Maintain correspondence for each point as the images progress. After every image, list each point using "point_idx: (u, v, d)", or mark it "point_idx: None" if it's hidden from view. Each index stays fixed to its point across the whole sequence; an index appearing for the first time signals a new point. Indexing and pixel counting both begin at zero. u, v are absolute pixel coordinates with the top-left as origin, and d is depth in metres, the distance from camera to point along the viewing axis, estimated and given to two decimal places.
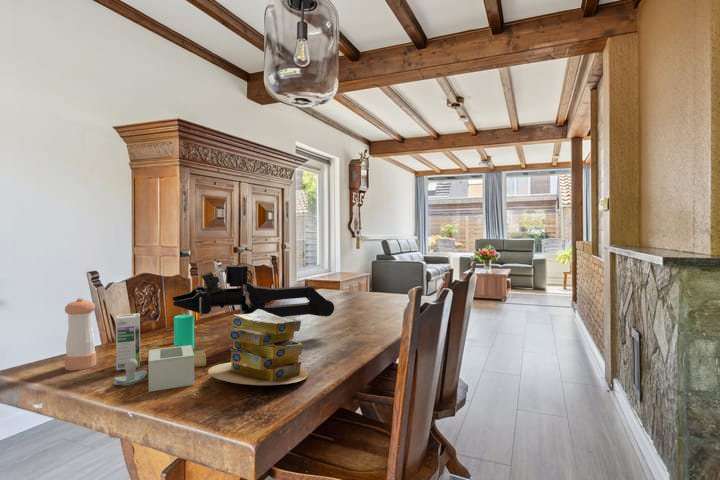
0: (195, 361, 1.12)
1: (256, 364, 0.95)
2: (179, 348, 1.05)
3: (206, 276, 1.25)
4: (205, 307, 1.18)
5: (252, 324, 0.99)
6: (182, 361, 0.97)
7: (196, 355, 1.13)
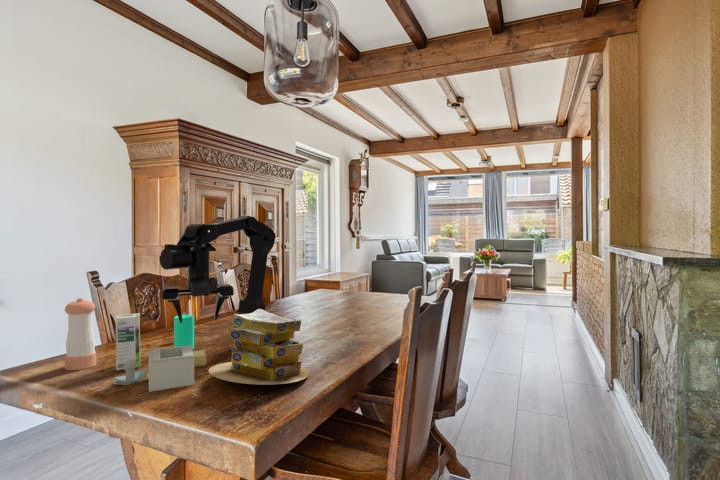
0: (195, 361, 1.12)
1: (256, 364, 0.95)
2: (179, 348, 1.05)
3: (209, 291, 1.09)
4: None
5: (253, 324, 1.00)
6: (182, 361, 0.97)
7: (196, 355, 1.13)
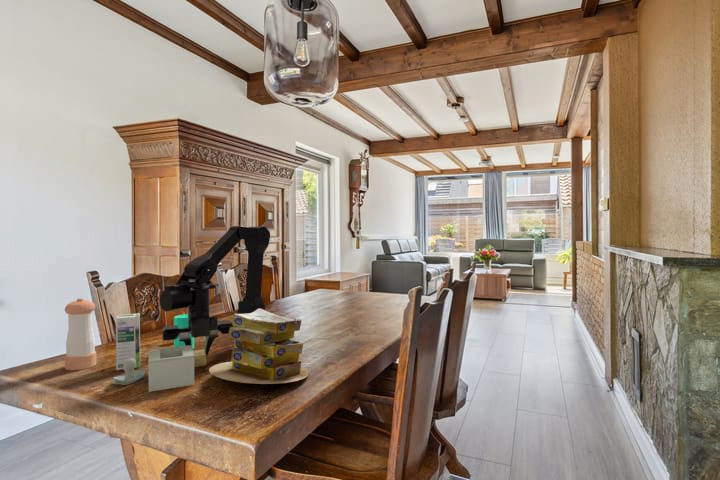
0: (195, 360, 1.12)
1: (256, 363, 0.95)
2: (179, 348, 1.05)
3: (209, 331, 1.09)
4: None
5: (253, 324, 1.00)
6: (182, 361, 0.97)
7: (196, 354, 1.13)
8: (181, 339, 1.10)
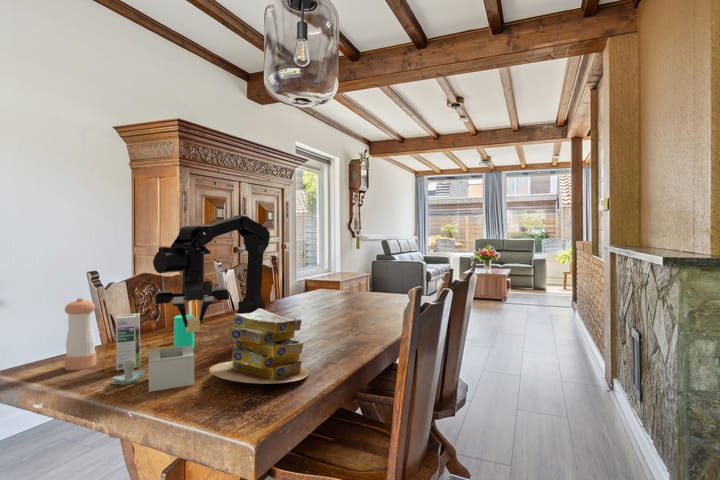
0: (189, 326, 1.09)
1: (256, 363, 0.96)
2: (179, 348, 1.05)
3: (203, 295, 1.06)
4: None
5: (253, 323, 1.00)
6: (182, 361, 0.97)
7: (190, 320, 1.10)
8: (174, 303, 1.07)
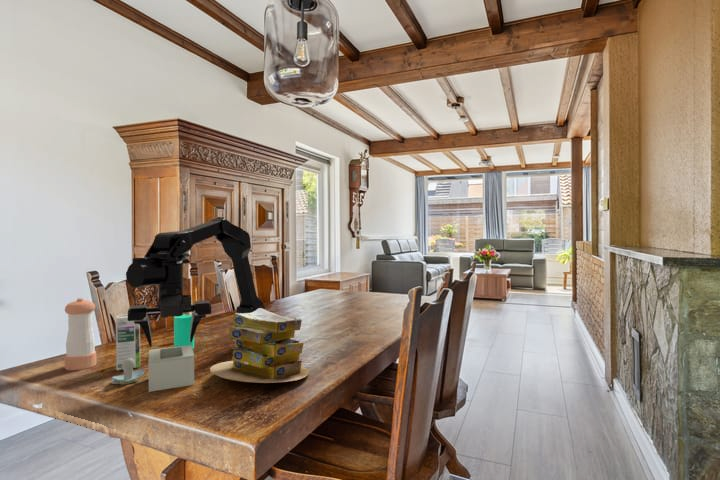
0: None
1: (257, 363, 0.96)
2: (179, 348, 1.05)
3: (182, 311, 0.95)
4: None
5: (254, 323, 1.01)
6: (182, 361, 0.97)
7: None
8: (136, 321, 0.95)
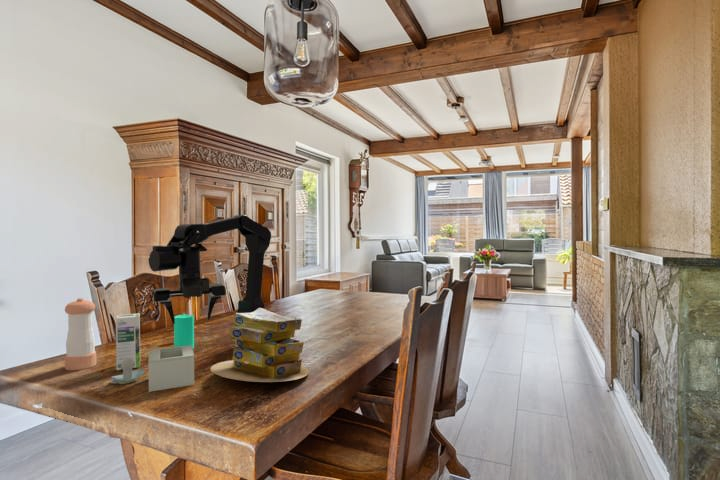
0: None
1: (257, 362, 0.96)
2: (179, 348, 1.05)
3: (201, 292, 1.09)
4: None
5: (254, 323, 1.01)
6: (182, 361, 0.97)
7: None
8: (161, 302, 1.09)
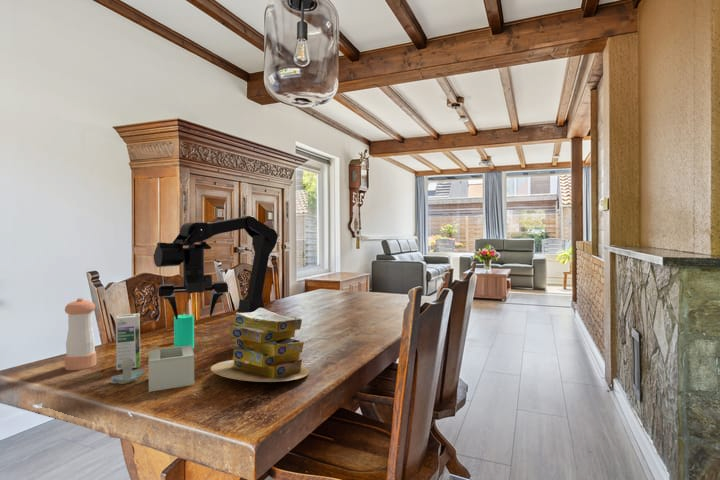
0: None
1: (257, 362, 0.97)
2: (179, 348, 1.05)
3: (204, 288, 1.12)
4: None
5: (254, 323, 1.01)
6: (182, 361, 0.97)
7: None
8: (165, 297, 1.12)
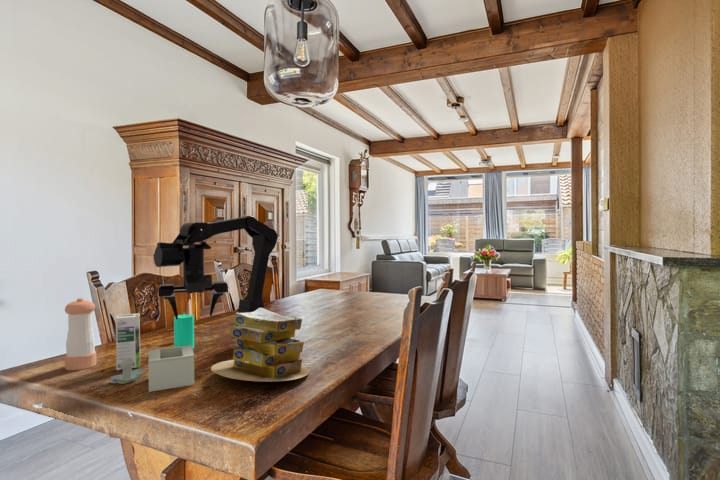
0: None
1: (258, 361, 0.97)
2: (179, 348, 1.05)
3: (204, 288, 1.12)
4: None
5: (254, 322, 1.01)
6: (182, 361, 0.97)
7: None
8: (165, 297, 1.12)
